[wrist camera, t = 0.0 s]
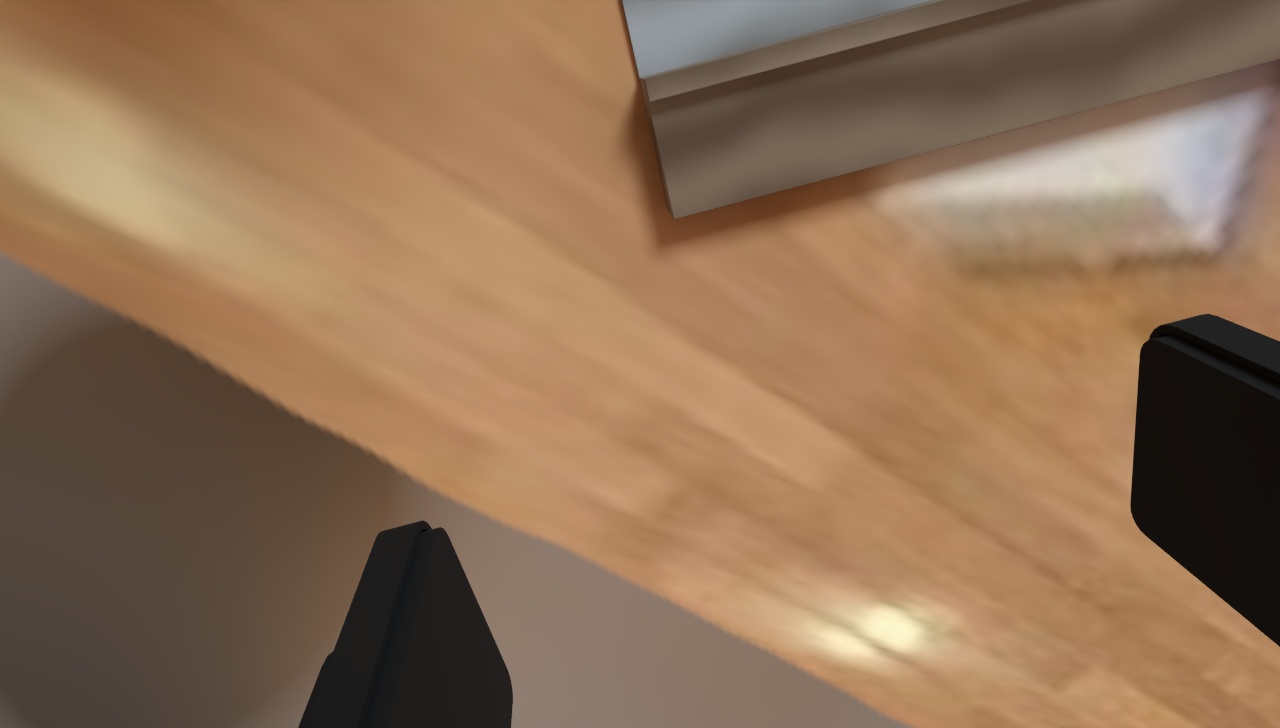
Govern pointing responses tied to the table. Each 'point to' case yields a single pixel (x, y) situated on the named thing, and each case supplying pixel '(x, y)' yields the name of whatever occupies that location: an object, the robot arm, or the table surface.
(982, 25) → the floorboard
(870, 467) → the table surface
